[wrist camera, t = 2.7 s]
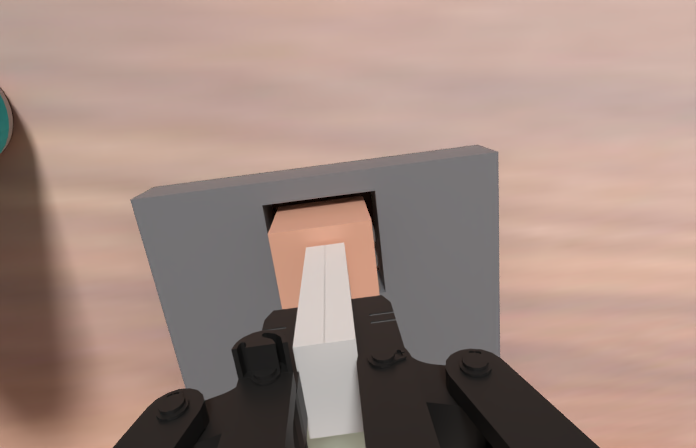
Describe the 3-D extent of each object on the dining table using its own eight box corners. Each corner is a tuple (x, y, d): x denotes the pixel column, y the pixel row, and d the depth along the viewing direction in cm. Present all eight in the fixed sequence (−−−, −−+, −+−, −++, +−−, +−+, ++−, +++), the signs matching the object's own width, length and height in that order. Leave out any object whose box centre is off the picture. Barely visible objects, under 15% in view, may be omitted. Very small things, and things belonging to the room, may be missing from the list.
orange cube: (292, 282, 21) (285, 325, 17) (278, 206, 20) (267, 233, 16) (373, 271, 21) (384, 311, 17) (365, 195, 20) (374, 219, 16)
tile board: (230, 469, 26) (220, 507, 23) (153, 187, 20) (130, 199, 18) (484, 433, 26) (501, 467, 23) (477, 144, 20) (498, 151, 18)
